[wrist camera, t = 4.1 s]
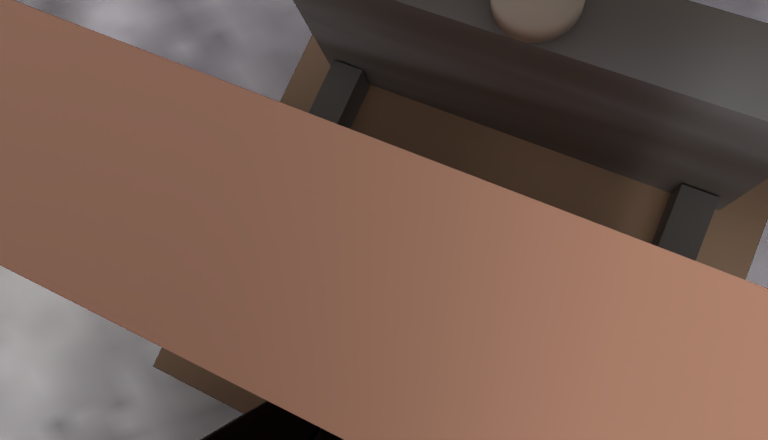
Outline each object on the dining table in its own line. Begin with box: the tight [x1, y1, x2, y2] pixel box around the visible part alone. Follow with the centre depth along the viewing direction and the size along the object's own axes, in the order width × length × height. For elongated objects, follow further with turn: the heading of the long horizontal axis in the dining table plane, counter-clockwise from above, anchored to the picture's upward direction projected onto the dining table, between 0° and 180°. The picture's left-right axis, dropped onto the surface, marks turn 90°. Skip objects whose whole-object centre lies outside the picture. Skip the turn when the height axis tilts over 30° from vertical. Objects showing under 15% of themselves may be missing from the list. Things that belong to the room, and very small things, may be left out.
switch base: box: [153, 0, 768, 414], centre depth 14 cm, size 10×12×7 cm
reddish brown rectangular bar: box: [0, 0, 768, 440], centre depth 9 cm, size 2×7×12 cm, turn 66°
